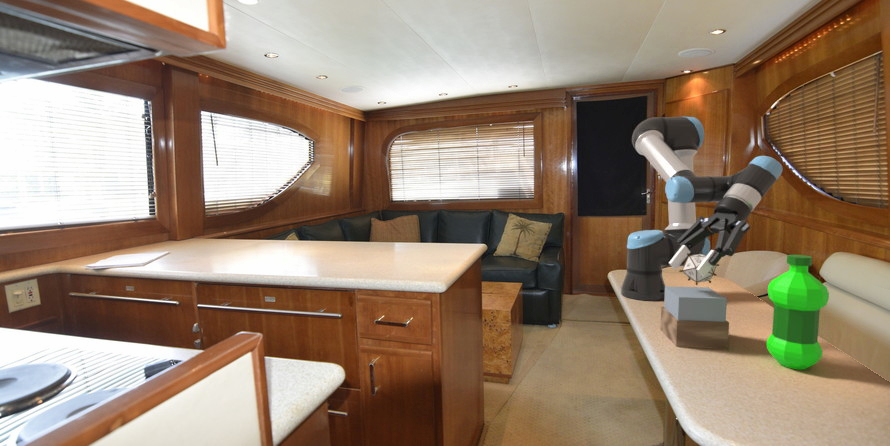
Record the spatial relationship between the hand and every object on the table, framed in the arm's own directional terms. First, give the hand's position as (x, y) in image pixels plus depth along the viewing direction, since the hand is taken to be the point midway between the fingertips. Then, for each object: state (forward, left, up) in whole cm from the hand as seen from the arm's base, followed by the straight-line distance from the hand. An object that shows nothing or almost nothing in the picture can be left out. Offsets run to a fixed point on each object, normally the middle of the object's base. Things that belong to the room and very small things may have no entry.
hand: (685, 269), depth 111 cm
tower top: (-1, +3, -12) cm, 13 cm away
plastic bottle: (+13, +19, -19) cm, 30 cm away
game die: (-1, +3, -4) cm, 5 cm away
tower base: (-2, +3, -19) cm, 20 cm away
